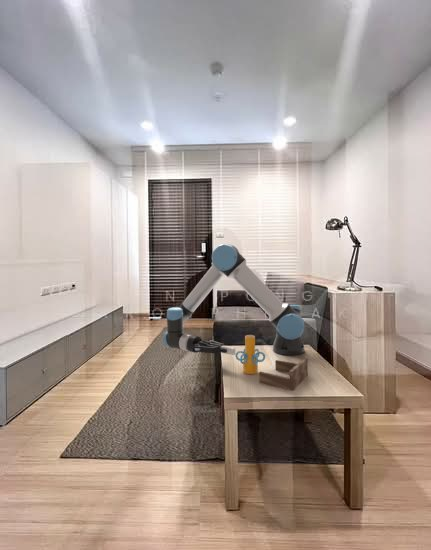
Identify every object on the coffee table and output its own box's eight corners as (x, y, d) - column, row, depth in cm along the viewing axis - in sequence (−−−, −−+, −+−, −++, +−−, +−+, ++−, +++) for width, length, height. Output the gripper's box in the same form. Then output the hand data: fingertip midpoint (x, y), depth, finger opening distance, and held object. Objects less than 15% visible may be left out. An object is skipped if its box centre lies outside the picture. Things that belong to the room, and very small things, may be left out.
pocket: (276, 369, 133) (276, 352, 133) (307, 375, 126) (307, 358, 125) (259, 382, 120) (258, 364, 119) (292, 390, 112) (292, 371, 112)
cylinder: (265, 368, 135) (265, 333, 134) (264, 377, 125) (264, 340, 124) (237, 366, 137) (237, 332, 136) (234, 375, 127) (233, 339, 126)
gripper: (199, 347, 153) (242, 355, 140) (182, 355, 143) (226, 364, 129) (199, 332, 153) (241, 339, 139) (181, 338, 142) (226, 346, 129)
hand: (234, 351), depth 134 cm, fingers closed
